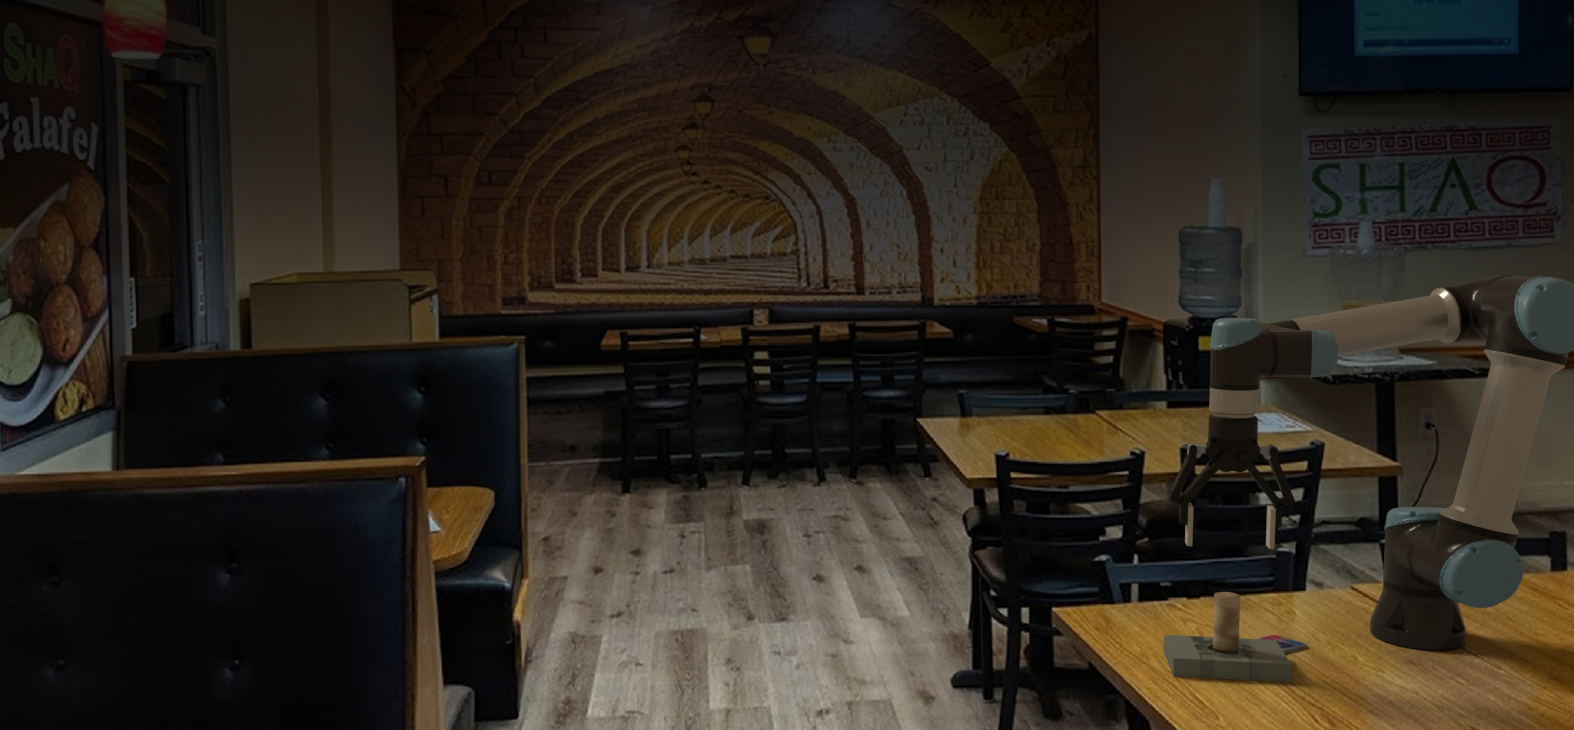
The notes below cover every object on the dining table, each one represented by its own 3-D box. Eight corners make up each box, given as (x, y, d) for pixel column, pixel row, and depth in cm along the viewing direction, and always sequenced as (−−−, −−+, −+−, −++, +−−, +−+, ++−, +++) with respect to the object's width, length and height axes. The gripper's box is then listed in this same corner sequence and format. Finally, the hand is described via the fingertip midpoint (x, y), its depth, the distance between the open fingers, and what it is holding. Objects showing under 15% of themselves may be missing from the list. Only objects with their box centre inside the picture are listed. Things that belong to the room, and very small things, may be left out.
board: (1274, 657, 213) (1275, 639, 213) (1290, 682, 202) (1291, 663, 201) (1163, 651, 216) (1164, 634, 216) (1173, 676, 204) (1173, 658, 204)
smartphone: (1216, 648, 217) (1273, 633, 224) (1216, 653, 217) (1273, 638, 225) (1252, 659, 210) (1310, 644, 218) (1252, 665, 210) (1310, 649, 218)
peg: (1235, 662, 211) (1238, 592, 209) (1240, 671, 207) (1242, 599, 205) (1210, 661, 211) (1212, 591, 210) (1214, 670, 207) (1216, 598, 206)
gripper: (1307, 412, 206) (1302, 542, 208) (1152, 409, 210) (1149, 537, 212) (1318, 419, 199) (1313, 554, 201) (1158, 416, 203) (1154, 548, 205)
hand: (1229, 545), depth 207 cm, fingers open, 12 cm apart
